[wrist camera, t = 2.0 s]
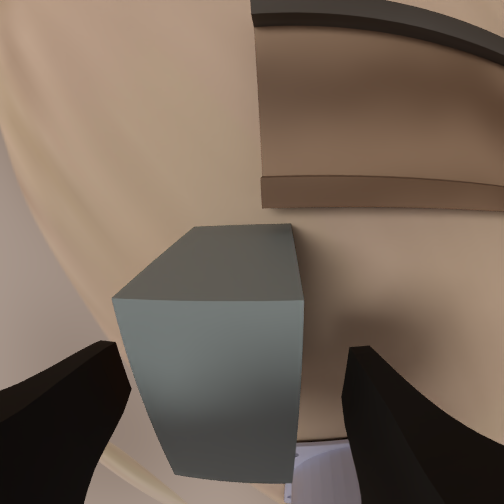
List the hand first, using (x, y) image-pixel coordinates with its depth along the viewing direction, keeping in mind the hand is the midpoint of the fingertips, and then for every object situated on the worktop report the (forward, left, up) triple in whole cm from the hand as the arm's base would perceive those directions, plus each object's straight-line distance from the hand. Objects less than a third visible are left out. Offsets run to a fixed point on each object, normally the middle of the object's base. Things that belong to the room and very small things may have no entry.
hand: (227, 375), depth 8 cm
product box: (0, 0, -5) cm, 5 cm away
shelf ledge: (+8, -12, -5) cm, 16 cm away
